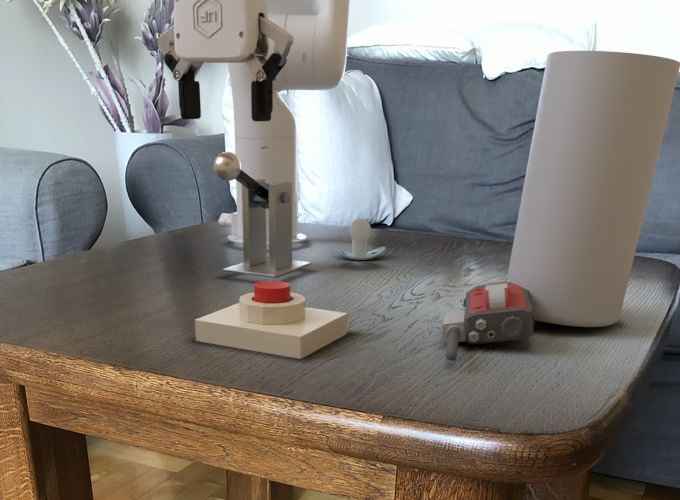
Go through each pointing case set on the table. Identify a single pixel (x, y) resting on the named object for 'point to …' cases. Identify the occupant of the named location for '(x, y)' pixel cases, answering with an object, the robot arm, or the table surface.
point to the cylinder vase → (589, 182)
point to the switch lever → (241, 177)
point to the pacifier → (360, 242)
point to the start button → (272, 292)
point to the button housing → (272, 327)
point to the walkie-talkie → (489, 316)
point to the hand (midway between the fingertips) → (225, 119)
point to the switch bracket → (278, 234)
